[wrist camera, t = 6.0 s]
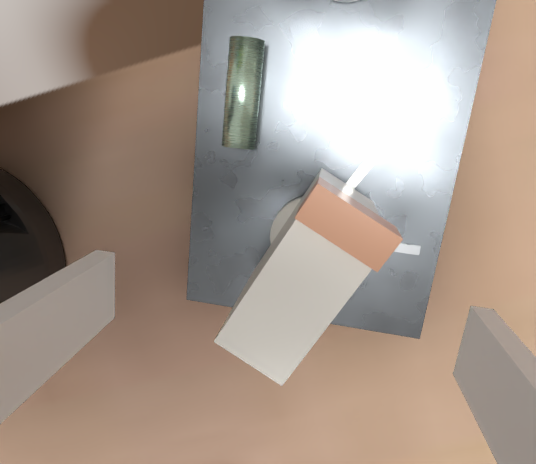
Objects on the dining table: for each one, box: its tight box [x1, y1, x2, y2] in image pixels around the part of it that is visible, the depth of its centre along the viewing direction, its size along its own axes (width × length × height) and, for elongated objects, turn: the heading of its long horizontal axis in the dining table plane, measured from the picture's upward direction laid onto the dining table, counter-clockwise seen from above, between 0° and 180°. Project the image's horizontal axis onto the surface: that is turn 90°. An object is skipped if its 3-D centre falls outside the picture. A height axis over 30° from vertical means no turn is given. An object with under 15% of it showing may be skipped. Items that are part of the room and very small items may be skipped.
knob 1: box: [214, 168, 403, 386], centre depth 22 cm, size 8×5×10 cm, turn 148°
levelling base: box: [187, 0, 496, 339], centre depth 25 cm, size 16×28×4 cm, turn 174°
